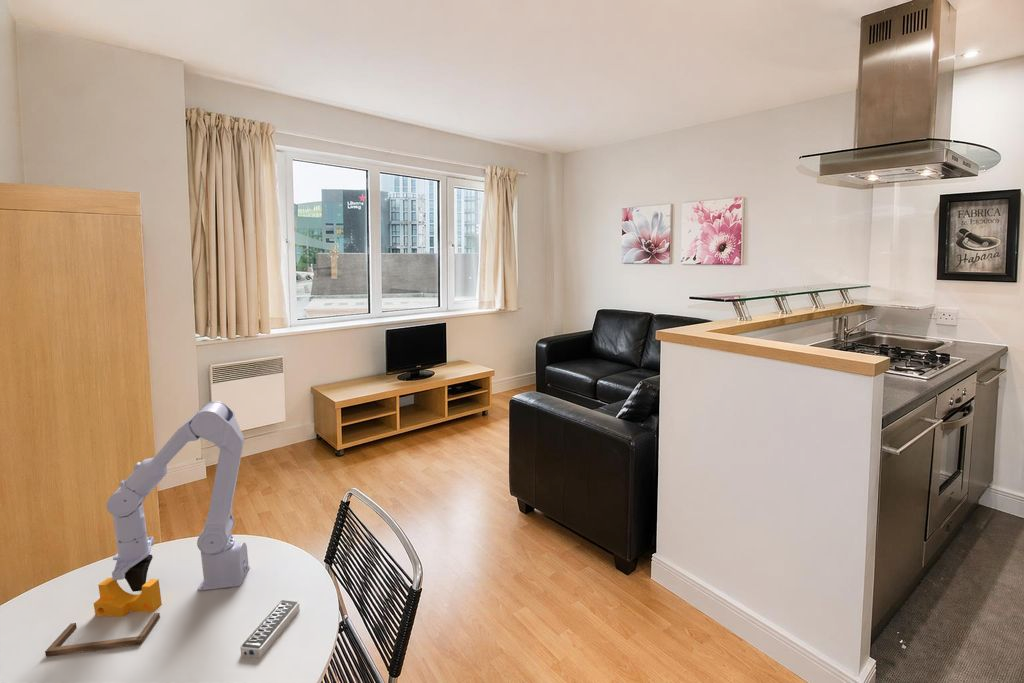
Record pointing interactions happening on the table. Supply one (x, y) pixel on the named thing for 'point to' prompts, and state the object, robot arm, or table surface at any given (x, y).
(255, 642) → the multiport hub
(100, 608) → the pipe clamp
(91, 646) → the bay
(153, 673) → the table surface
